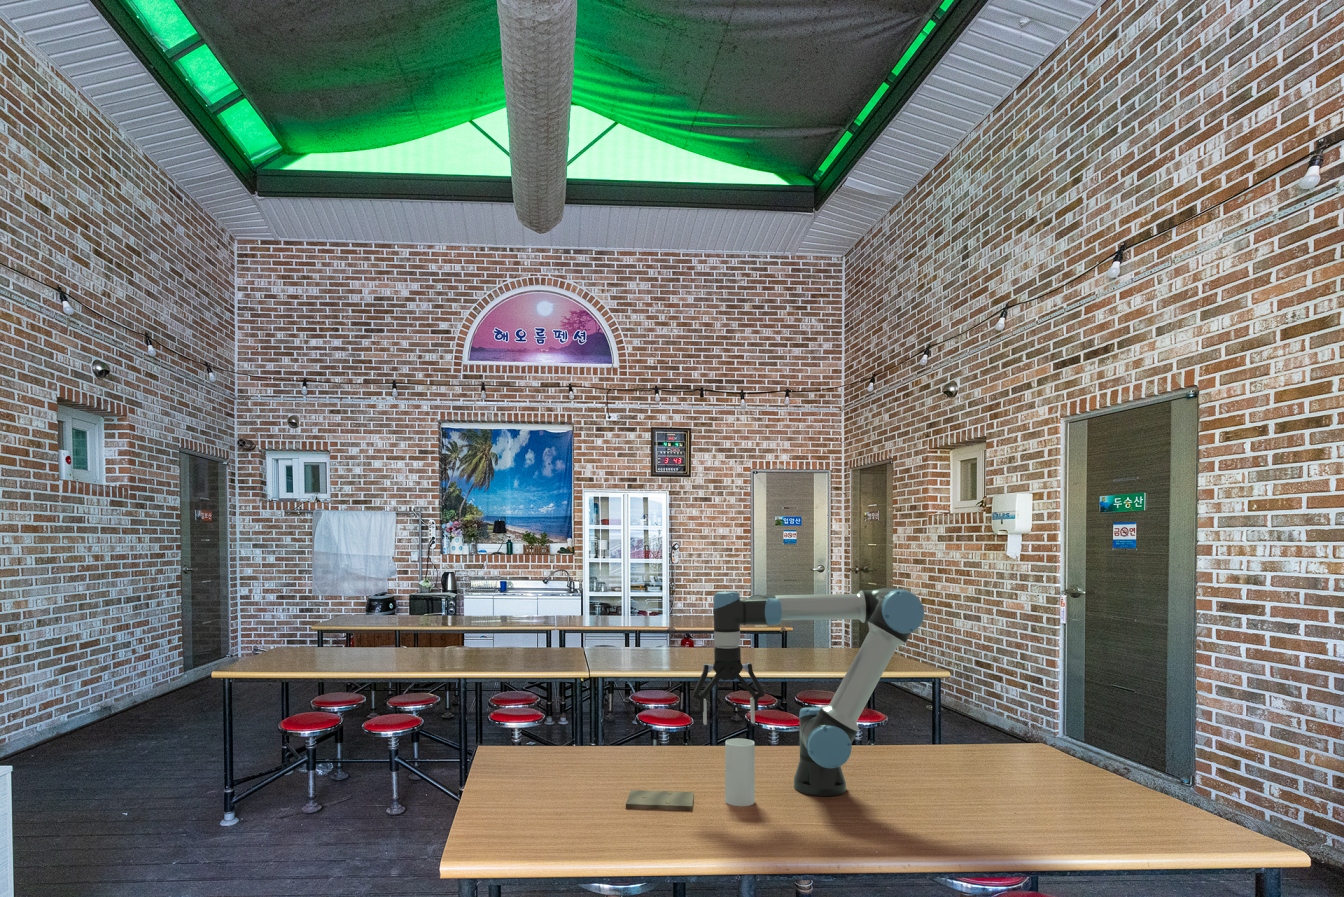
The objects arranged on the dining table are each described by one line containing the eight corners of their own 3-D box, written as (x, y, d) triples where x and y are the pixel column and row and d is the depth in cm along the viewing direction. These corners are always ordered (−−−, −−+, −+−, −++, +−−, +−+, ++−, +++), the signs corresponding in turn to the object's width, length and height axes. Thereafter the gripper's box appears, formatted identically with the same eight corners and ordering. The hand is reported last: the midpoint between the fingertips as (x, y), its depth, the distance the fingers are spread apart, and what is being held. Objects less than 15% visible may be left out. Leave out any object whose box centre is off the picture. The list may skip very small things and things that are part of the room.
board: (693, 796, 218) (693, 791, 218) (692, 810, 206) (692, 805, 206) (630, 794, 219) (630, 789, 219) (625, 808, 207) (625, 803, 207)
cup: (754, 797, 218) (754, 738, 220) (754, 807, 210) (754, 746, 212) (725, 796, 219) (725, 737, 221) (724, 805, 211) (724, 745, 213)
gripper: (768, 643, 224) (770, 719, 222) (683, 645, 223) (684, 721, 220) (772, 647, 217) (775, 725, 214) (684, 648, 216) (686, 727, 213)
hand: (729, 723), depth 217 cm, fingers open, 13 cm apart
